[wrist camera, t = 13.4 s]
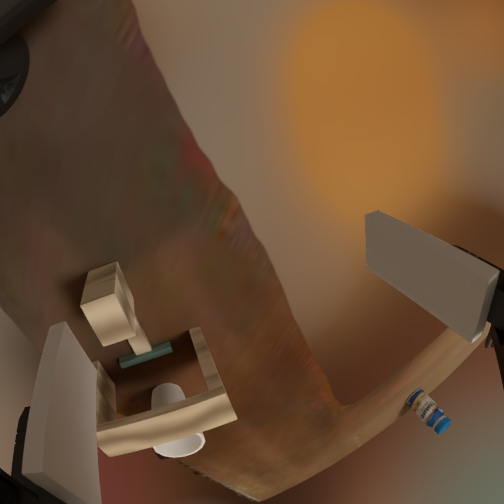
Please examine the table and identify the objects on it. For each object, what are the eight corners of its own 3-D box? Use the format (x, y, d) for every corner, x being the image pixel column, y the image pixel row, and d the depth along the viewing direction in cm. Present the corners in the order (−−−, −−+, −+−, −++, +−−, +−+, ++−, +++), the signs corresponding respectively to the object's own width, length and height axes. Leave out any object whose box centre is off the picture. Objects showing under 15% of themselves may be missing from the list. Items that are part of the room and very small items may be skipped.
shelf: (88, 363, 49) (85, 434, 35) (199, 325, 54) (225, 393, 40) (106, 387, 52) (109, 457, 38) (210, 353, 57) (237, 419, 43)
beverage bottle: (407, 406, 102) (437, 438, 85) (403, 400, 98) (435, 434, 81) (422, 392, 103) (453, 422, 85) (420, 385, 98) (453, 417, 81)
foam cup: (137, 401, 56) (144, 452, 45) (154, 372, 55) (164, 425, 43) (177, 411, 61) (191, 459, 49) (197, 384, 59) (214, 433, 48)
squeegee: (74, 276, 43) (64, 311, 34) (131, 255, 45) (132, 286, 37) (122, 362, 51) (124, 402, 43) (171, 345, 54) (181, 384, 45)
